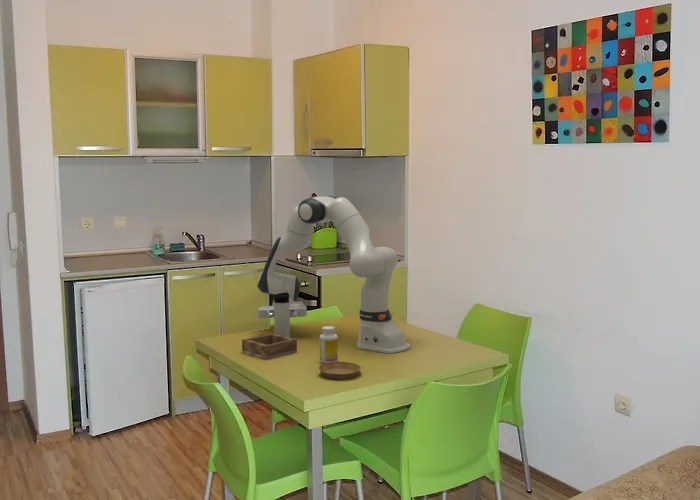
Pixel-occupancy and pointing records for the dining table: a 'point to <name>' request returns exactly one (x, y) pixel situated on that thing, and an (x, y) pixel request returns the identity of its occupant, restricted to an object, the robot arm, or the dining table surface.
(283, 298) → the travel mug
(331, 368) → the plant saucer
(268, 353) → the square wooden tray
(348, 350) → the dining table surface
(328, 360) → the supplement bottle
